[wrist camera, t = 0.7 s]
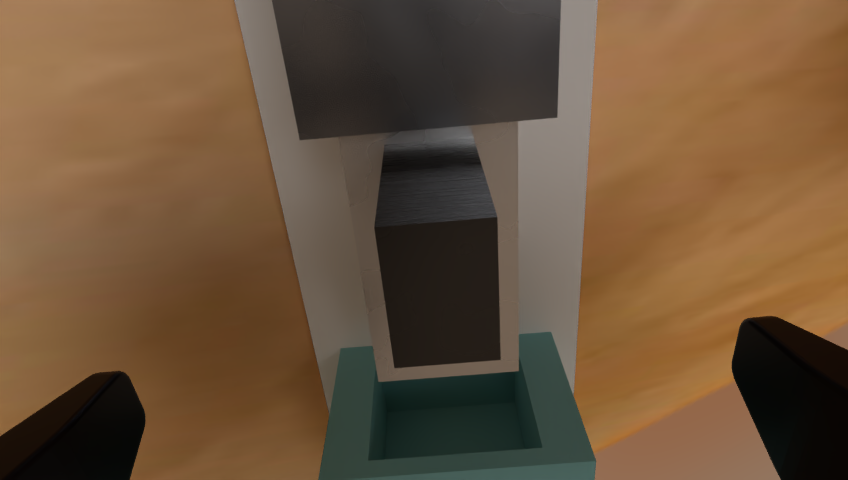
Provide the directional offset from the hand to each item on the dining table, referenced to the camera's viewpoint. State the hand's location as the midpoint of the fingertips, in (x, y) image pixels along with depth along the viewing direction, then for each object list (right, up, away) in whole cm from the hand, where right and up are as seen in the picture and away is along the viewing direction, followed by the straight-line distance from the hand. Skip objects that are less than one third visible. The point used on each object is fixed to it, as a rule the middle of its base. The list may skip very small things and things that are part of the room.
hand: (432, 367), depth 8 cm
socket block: (+1, -3, +15) cm, 15 cm away
